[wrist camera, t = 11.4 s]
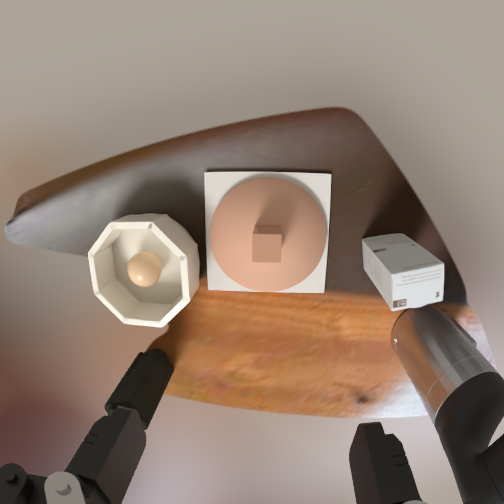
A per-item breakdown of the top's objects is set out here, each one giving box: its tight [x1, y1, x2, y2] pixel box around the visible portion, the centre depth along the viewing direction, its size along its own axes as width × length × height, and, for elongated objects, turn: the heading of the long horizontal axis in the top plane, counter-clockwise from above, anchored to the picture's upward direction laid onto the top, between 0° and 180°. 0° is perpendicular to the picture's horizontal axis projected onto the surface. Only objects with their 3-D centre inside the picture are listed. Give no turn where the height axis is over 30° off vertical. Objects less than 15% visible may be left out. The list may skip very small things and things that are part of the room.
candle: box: [105, 349, 173, 430], centre depth 33 cm, size 5×5×25 cm
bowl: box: [88, 213, 200, 328], centre depth 37 cm, size 13×13×6 cm
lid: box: [209, 178, 326, 292], centre depth 35 cm, size 14×14×6 cm
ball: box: [127, 251, 162, 287], centre depth 37 cm, size 4×4×4 cm
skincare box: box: [362, 233, 444, 311], centre depth 32 cm, size 6×4×12 cm
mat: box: [205, 172, 331, 293], centre depth 38 cm, size 15×15×1 cm
